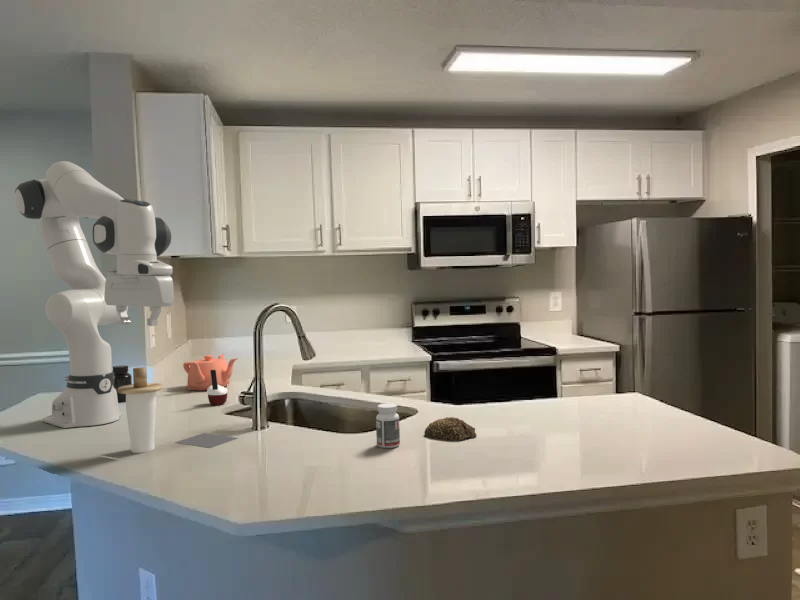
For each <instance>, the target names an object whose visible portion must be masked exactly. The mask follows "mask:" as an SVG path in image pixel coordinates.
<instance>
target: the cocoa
mask: <svg viewBox="0 0 800 600" xmlns="http://www.w3.org/2000/svg"><path fill="white" fill-rule="evenodd" d="M210 371H211V380H212V385H211V386H210V387H209V388H208V389H207V391H206V393H207V400H208V401H209V404H210V405H212V406H222V404H223V405H224V404H225V403H226V402H227V399H228V388H226V387H222V386H220V385H217V377H216V370H210Z"/></svg>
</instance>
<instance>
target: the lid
mask: <svg viewBox="0 0 800 600" xmlns="http://www.w3.org/2000/svg"><path fill="white" fill-rule="evenodd" d="M132 372H133V373H132V377H133V378H132V384H131V385H126V386H122V387H119V388H118V393H121V394H142V393H150V392H155V391H156V392H160V391H161V390H163V384H162V383H159V382H158V383H156V382H148V375H147V373H148V371H147V367H145V366H144V367H143V366H142V367H141V366H140V367H134V368H132Z"/></svg>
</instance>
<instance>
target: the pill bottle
mask: <svg viewBox="0 0 800 600" xmlns="http://www.w3.org/2000/svg"><path fill="white" fill-rule="evenodd" d="M397 406H398V405H397V404H395V403H380V404H378V405H377V412H378V414H377V415H376V416H375V427H376V428H375V429H376V435H375V436H376V446H377V447H378V448H381V449H393V448H398V447H399V446H400V443H401V434H400V433H401V432H400V416H399V414H398V413H397V410H398V407H397Z"/></svg>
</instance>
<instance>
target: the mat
mask: <svg viewBox="0 0 800 600" xmlns="http://www.w3.org/2000/svg"><path fill="white" fill-rule="evenodd" d="M237 439H239V437H234V436H227V435H226V436H225V435H220V434H212V433H206V432H203V433H201V434H197V435H194V436H191V437H188V438H183V439H181V440H178V441H175V442H174V443H175V444H179V445H180V444H181V445H186V446H194V447H199V448H200V447H201V448H207V449H212V448H214V447H218V446H220V445H223V444H226V443H230V442H232V441H235V440H237Z"/></svg>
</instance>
